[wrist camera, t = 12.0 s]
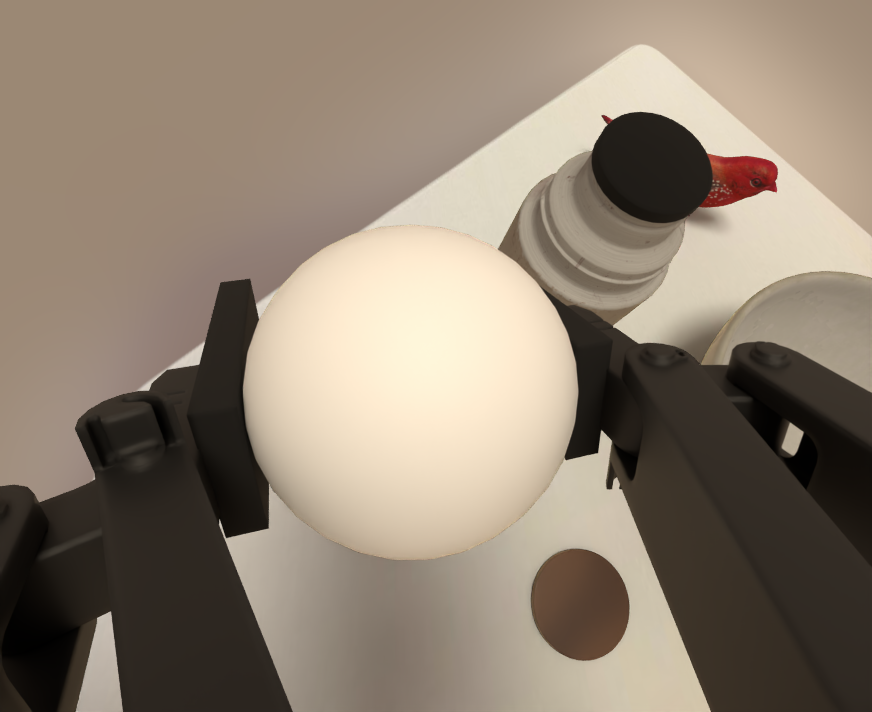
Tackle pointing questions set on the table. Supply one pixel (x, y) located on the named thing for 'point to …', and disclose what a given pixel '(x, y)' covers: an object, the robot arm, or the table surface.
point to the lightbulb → (410, 392)
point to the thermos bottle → (612, 215)
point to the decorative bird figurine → (737, 178)
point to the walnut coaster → (580, 604)
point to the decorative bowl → (807, 326)
